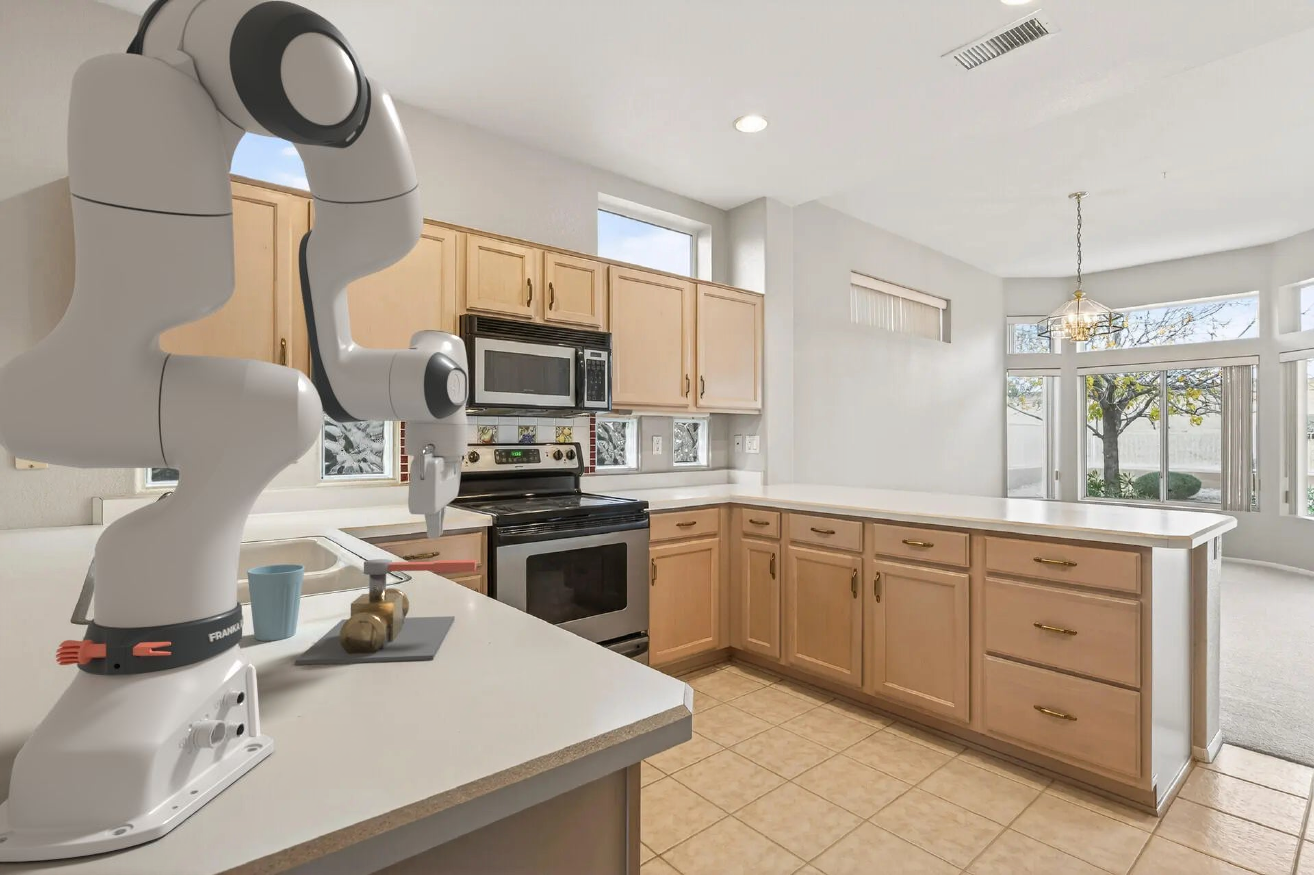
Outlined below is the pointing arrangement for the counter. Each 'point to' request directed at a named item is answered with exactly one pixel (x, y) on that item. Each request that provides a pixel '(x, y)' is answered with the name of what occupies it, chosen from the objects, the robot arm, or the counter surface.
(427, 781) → the counter surface
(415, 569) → the lever
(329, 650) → the mat
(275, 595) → the cup
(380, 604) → the valve body
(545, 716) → the counter surface
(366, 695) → the counter surface
